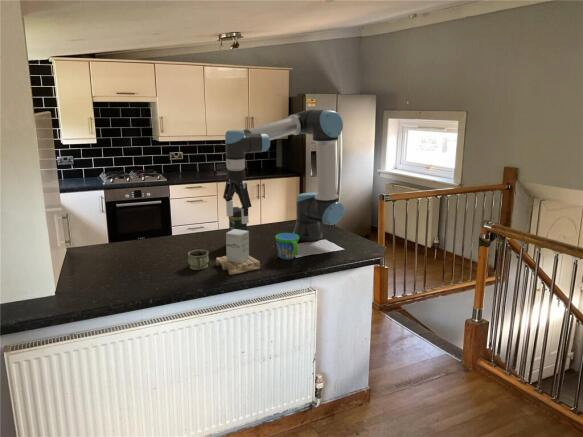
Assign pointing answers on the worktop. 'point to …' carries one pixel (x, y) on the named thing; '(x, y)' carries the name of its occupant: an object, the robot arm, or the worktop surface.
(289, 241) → the snack cup
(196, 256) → the vessel
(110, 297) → the worktop surface
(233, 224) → the coffee jar
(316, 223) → the robot arm
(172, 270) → the worktop surface
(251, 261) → the pallet
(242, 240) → the supplement box
